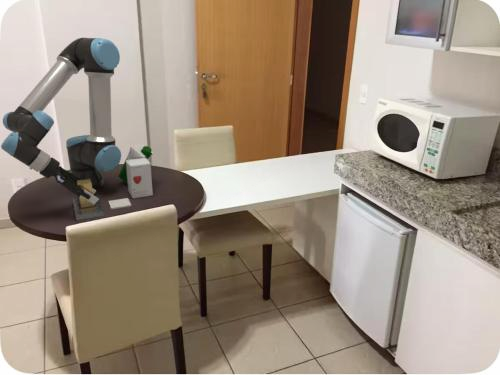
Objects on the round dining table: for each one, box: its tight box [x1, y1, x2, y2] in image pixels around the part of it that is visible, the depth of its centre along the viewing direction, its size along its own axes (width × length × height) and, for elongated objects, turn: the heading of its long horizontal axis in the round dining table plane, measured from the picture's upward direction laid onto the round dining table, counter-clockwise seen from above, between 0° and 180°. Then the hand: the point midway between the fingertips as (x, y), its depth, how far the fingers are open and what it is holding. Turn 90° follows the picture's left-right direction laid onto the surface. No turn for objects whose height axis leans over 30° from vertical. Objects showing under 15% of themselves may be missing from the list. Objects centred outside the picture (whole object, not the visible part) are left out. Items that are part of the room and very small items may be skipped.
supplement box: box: [125, 158, 154, 199], centre depth 184 cm, size 9×9×15 cm
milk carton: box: [117, 142, 154, 185], centre depth 194 cm, size 9×9×20 cm
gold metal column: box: [77, 179, 96, 209], centre depth 169 cm, size 5×5×12 cm
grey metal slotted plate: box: [72, 194, 105, 221], centre depth 171 cm, size 18×10×2 cm, turn 25°
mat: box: [108, 197, 132, 210], centre depth 176 cm, size 8×8×1 cm
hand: (95, 197), depth 171 cm, fingers open, 9 cm apart
